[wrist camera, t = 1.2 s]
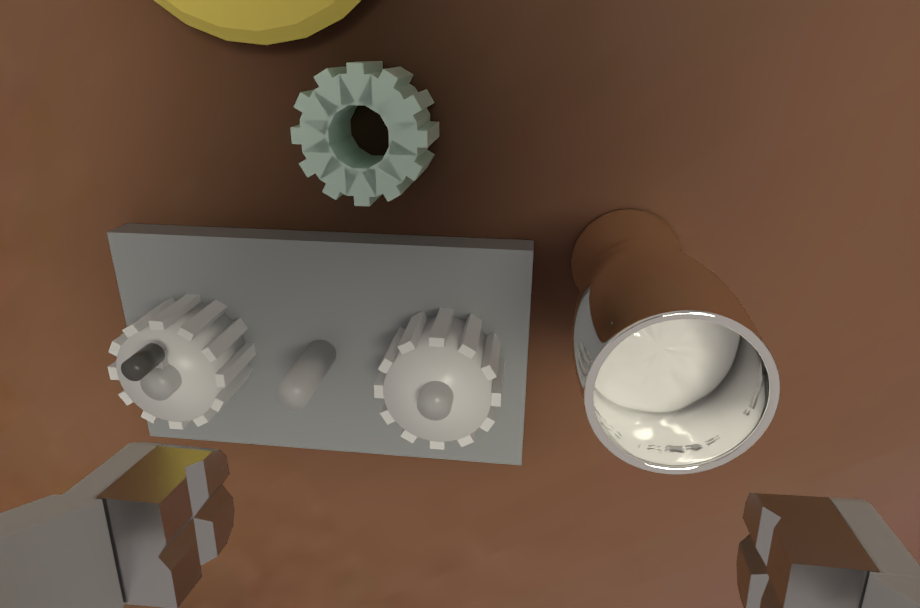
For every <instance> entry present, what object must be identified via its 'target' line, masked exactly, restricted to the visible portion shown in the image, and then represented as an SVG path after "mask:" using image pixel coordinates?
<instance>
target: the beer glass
mask: <svg viewBox="0 0 920 608" xmlns="http://www.w3.org/2000/svg"><path fill="white" fill-rule="evenodd" d="M571 271H572V276H573V279H574V282H575V284H576V286H577V288H578V290H579V291H580V293H579V296H578V299H577V302H576V306H575V311H574V317H573V323H572V352H573V359H574V365H575V370H576V375H577V379H578V383H579V386H580V390H581V394H582V397H583V400H584V405H585V411H586V415H587V418H588V421H589V424H590V426H591V428H592V430H593V432H594V433H595V435H596V436H597V438H598V439H599V440H600V442H601V443H602V444H603V445H604V446H605V447H606V448H607V449H608V450H609V451H610V452H611V453H613V454H614V455H615V456H617V457H618V458H620V459H621V460H623V461H625V462H627V463H628V464H631V465H633V466H635V467H638V468H640V469H643V470H647V471H651V472H656V473H662V474H691V473H697V472H702V471H706V470H710V469H713V468H716V467H719V466H721V465H724V464H726V463H728V462H730V461H732V460H733V459H735V458H737V457H738V456H740V455H741V454H743V453H744V452H746V451H747V450H748V449H749V448H750V447H752V446H753V445H754V444H755V443H756V442H757V441H758V440H759V439H760V437H761V436H762V435H763V434H764V432H765V431H766V430H767V428H768V426H769V425H770V423H771V421H772V419H773V417H774V415H775V412H776V409H777V406H778V402H779V396H780V379H779V373H778V369H777V365H776V363H775V360H774V358H773V356H772V354H771V352H770V350H769V349H768V347H767V346H766V345H765V343H764V342H763V340H762V338H761V336H760V334H759V332H758V330H757V329H756V327H755V325H754V323H753V321H752V320H751V318H750V316H749V314H748V313H747V311H746V310H745V308H744V307H743V306H742V304H741V303H740V301H739V300H738V298H737V297H736V296H735V294H734V293H733V292H732V291H731V290H730V289H729V288H728V286H727V285H726V284H725V283H724V282H723V281H722V280H721V279H720V278H719V277H718V276H717V275H716V274H715V273H714V272H712V271H711V270H710V269H708V268H707V267H705V266H704V265H703V264H701V263H700V262H698V261H697V260H695V259H694V258H692V257H690V256H688V255H686V254H684V253H683V252H682V249H681V245H680V242H679V240H678V238H677V236H676V234H675V232H674V231H673V230H672V228H671V227H670V226H669V225H668V224H667V223H666V222H665V221H664V220H662V219H661V218H659V217H658V216H656V215H654V214H652V213H649V212H646V211H642V210H636V209H623V210H617V211H613V212H610V213H607V214H605V215H602V216H601V217H599V218H597V219H596V220H594V221H593V222H592V223H590V224H589V225H588V226H587V227H586V228H585V229H584V230H583V232H582V233H581V234H580V236H579V237H578V239H577V241H576V243H575V245H574V248H573V251H572V256H571Z"/></svg>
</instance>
